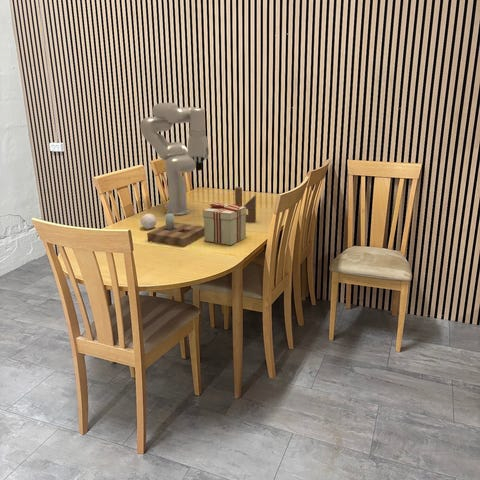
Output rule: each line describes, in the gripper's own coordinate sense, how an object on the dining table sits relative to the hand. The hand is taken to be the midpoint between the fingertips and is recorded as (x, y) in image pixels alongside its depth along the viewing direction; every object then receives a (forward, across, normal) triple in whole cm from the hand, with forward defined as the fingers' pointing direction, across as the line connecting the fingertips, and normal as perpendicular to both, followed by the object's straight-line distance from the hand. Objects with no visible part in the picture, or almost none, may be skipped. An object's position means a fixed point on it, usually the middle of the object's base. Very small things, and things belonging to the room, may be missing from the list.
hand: (199, 169), depth 249 cm
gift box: (+27, +26, -21) cm, 43 cm away
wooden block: (+27, +22, +8) cm, 36 cm away
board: (+27, +5, -30) cm, 41 cm away
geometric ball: (+27, -17, -23) cm, 39 cm away
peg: (+27, +1, -30) cm, 40 cm away
